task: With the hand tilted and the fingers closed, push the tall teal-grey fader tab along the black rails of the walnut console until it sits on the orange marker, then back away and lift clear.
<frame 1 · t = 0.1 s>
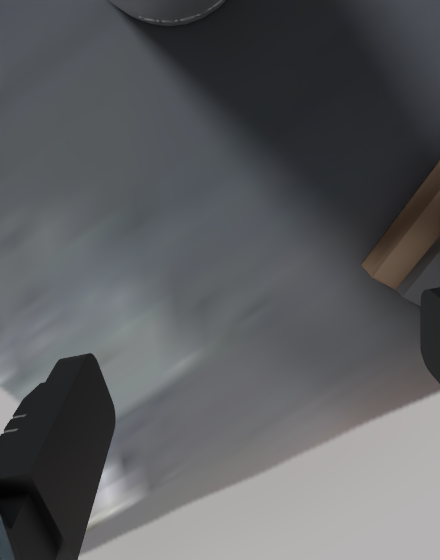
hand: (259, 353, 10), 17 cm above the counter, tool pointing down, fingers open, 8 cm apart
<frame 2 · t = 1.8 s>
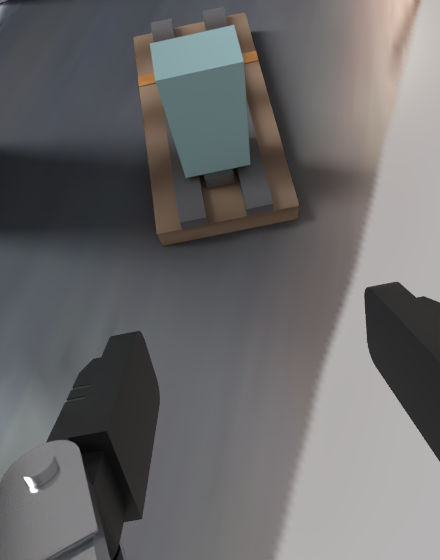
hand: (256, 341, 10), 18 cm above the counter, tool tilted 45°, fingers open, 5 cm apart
fader tab: (207, 118, 28), point 7 cm above the counter, slide at -6.0 cm
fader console: (209, 127, 37), on the counter
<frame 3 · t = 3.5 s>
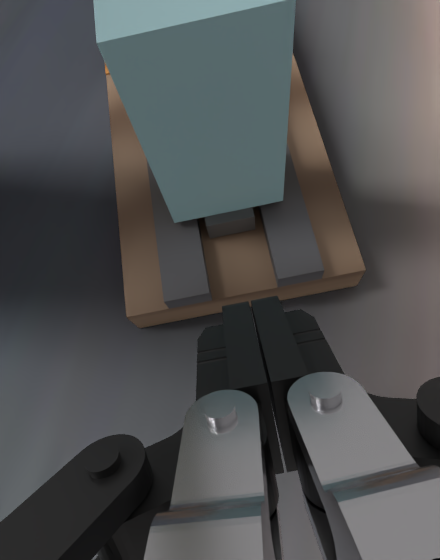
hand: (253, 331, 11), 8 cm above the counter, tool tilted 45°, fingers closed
fader tab: (212, 124, 15), point 7 cm above the counter, slide at -6.0 cm
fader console: (211, 135, 24), on the counter
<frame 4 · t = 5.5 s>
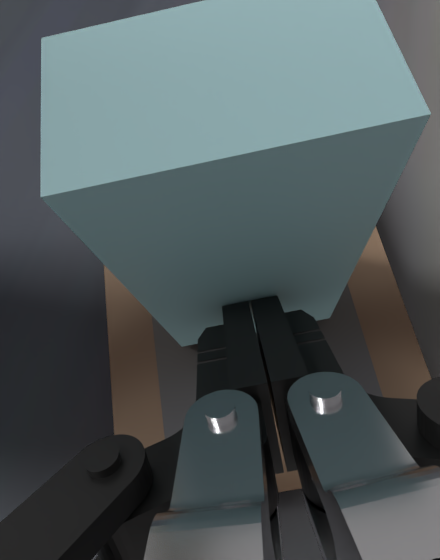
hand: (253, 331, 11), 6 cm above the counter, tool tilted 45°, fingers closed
fader tab: (238, 239, 10), point 7 cm above the counter, slide at -4.6 cm, touching gripper
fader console: (231, 225, 19), on the counter
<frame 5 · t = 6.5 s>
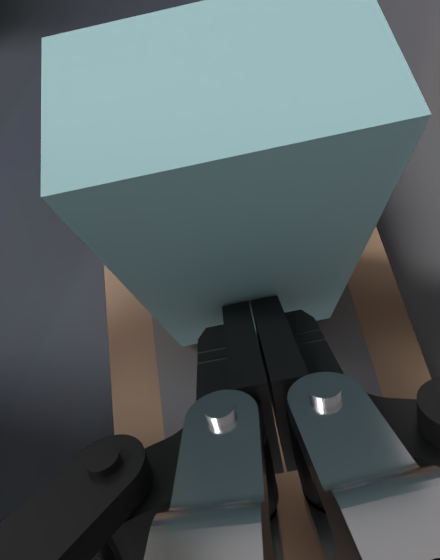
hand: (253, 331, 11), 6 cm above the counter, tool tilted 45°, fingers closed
fader tab: (238, 239, 10), point 7 cm above the counter, slide at 1.2 cm, touching gripper
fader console: (256, 346, 17), on the counter
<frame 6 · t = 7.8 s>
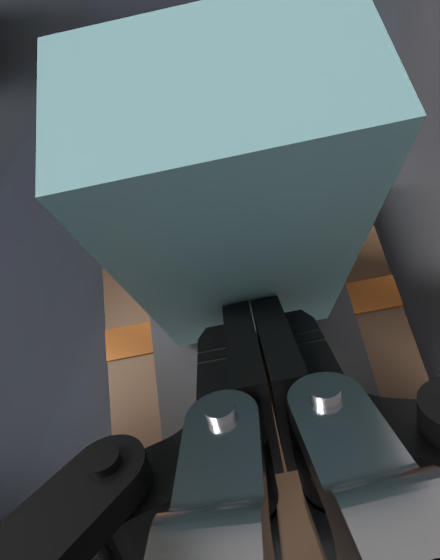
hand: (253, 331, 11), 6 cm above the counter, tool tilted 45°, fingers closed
fader tab: (236, 239, 10), point 7 cm above the counter, slide at 5.6 cm, touching gripper
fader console: (277, 460, 15), on the counter
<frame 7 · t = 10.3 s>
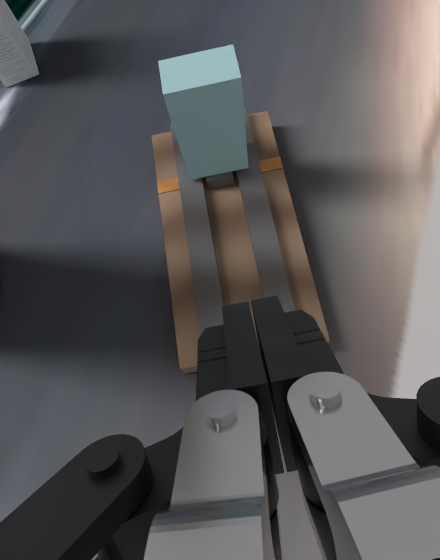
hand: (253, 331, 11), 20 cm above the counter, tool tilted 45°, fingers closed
fader tab: (209, 126, 31), point 7 cm above the counter, slide at 5.6 cm
skincare box: (19, 67, 47), on the counter
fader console: (231, 236, 35), on the counter
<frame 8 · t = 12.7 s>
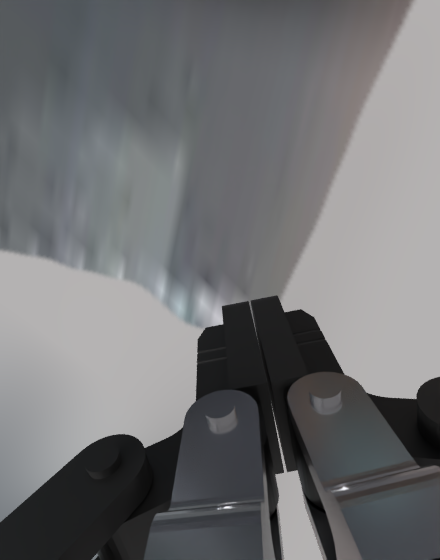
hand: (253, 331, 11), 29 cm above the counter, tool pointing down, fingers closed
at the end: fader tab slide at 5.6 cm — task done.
